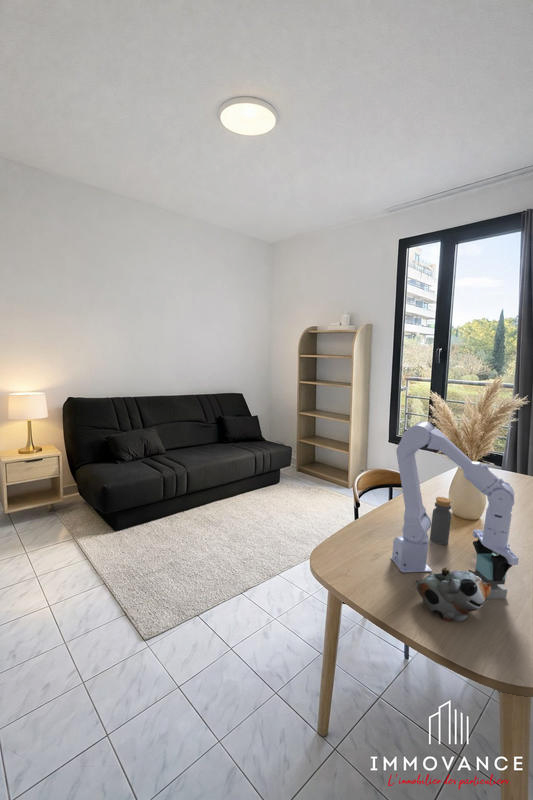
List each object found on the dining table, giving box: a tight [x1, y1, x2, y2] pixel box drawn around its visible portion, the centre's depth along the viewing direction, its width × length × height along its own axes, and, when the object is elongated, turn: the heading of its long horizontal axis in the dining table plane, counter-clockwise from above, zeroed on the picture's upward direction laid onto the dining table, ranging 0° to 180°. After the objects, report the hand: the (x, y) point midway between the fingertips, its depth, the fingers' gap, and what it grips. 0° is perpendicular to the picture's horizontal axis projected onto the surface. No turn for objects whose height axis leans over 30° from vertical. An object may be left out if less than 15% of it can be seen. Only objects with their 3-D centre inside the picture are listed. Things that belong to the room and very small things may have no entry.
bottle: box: [429, 496, 452, 545], centre depth 127 cm, size 6×6×15 cm
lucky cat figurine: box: [415, 567, 492, 622], centre depth 92 cm, size 15×12×14 cm
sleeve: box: [475, 553, 507, 585], centre depth 100 cm, size 5×5×6 cm
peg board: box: [467, 529, 499, 576], centre depth 113 cm, size 18×7×8 cm, turn 144°
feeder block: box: [477, 576, 508, 600], centre depth 101 cm, size 6×6×2 cm
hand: (490, 574), depth 100 cm, fingers closed on sleeve, 5 cm apart
